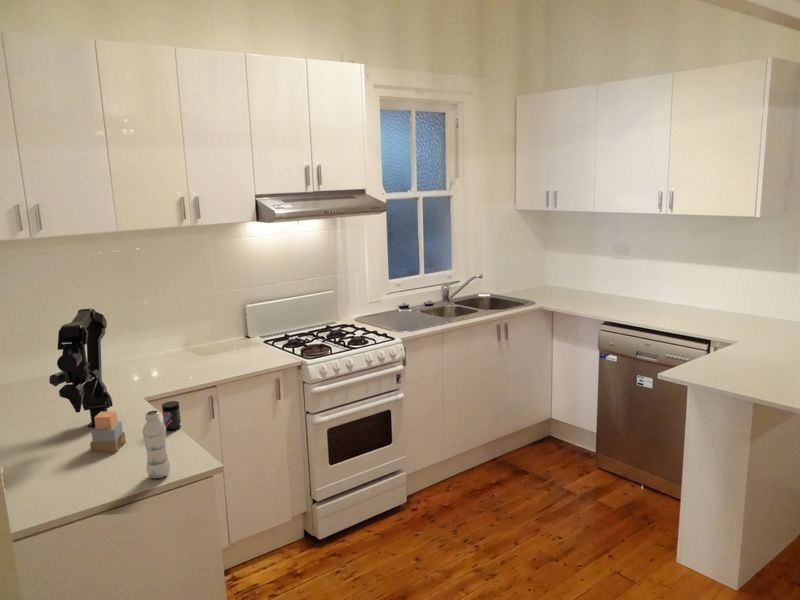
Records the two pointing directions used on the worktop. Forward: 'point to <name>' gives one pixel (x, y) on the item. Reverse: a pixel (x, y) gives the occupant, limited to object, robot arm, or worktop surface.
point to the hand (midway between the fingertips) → (83, 406)
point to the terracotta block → (106, 420)
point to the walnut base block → (108, 445)
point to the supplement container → (171, 415)
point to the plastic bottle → (155, 446)
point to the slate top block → (107, 433)
